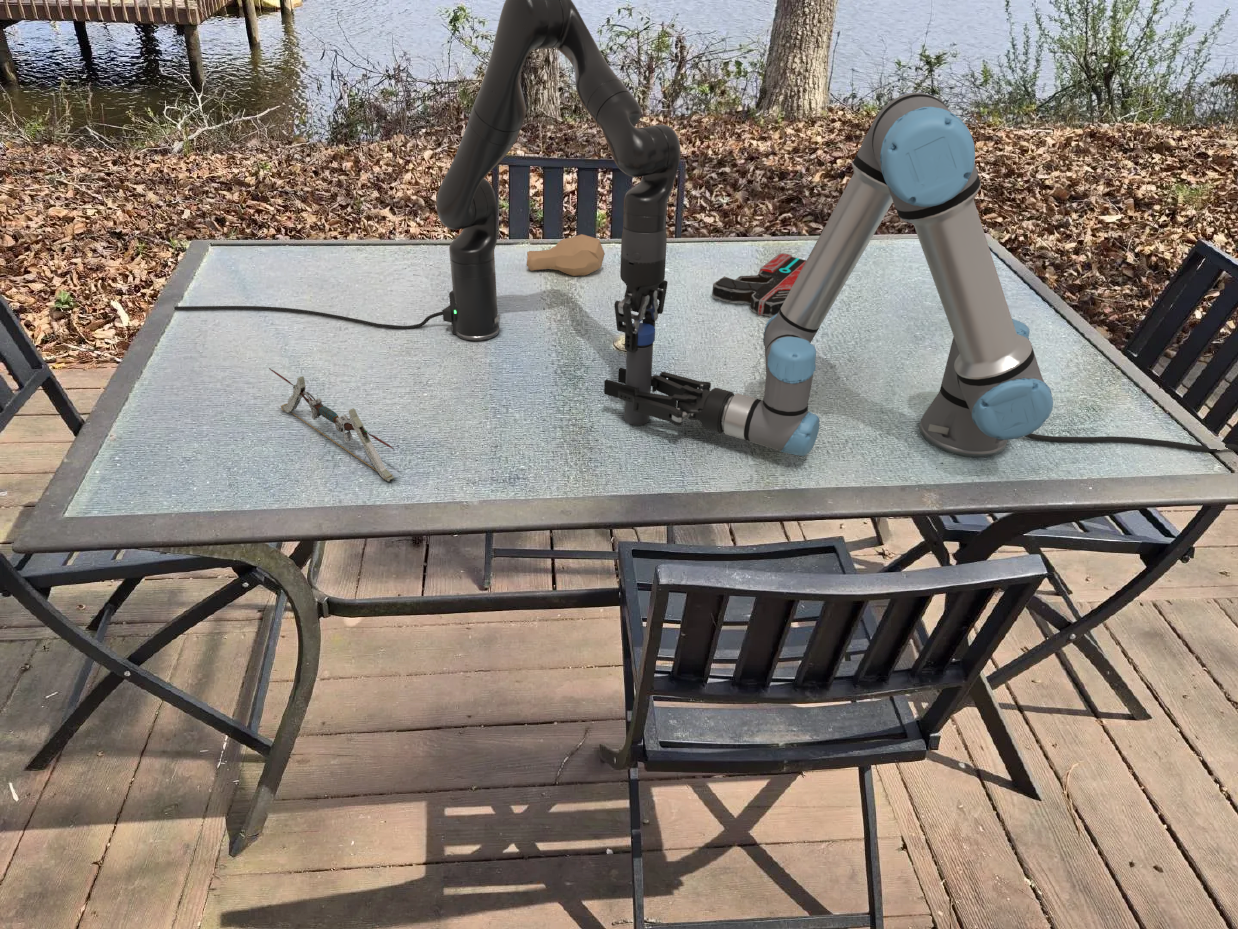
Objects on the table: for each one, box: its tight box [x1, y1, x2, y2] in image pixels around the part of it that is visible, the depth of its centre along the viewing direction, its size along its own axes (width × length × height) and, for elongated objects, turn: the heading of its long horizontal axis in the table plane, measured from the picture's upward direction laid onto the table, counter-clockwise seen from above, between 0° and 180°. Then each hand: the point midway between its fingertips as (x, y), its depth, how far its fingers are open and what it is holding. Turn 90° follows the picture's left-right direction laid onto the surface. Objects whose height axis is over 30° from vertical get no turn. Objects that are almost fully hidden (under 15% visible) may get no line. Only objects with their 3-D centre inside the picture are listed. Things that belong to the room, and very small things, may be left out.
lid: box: [632, 322, 656, 346], centre depth 154 cm, size 5×5×2 cm
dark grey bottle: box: [623, 342, 654, 426], centre depth 159 cm, size 5×5×18 cm
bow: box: [269, 367, 396, 483], centre depth 151 cm, size 39×2×10 cm, turn 47°
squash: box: [526, 233, 606, 277], centre depth 222 cm, size 11×20×9 cm, turn 90°
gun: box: [711, 252, 807, 318], centre depth 215 cm, size 4×31×19 cm
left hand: (639, 344), depth 155 cm, fingers closed on lid, 5 cm apart
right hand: (612, 380), depth 162 cm, fingers closed on dark grey bottle, 5 cm apart
